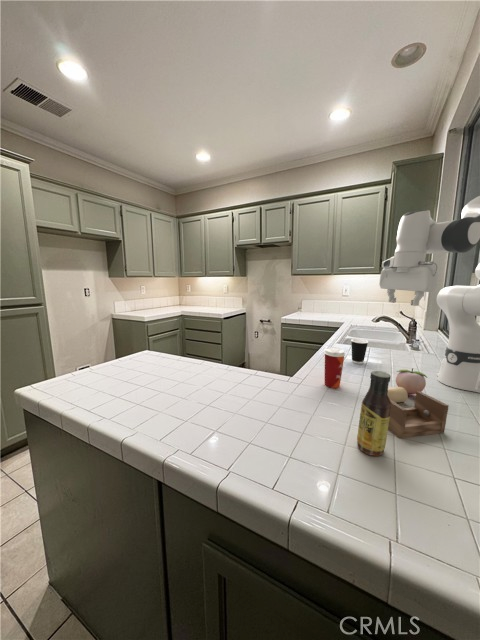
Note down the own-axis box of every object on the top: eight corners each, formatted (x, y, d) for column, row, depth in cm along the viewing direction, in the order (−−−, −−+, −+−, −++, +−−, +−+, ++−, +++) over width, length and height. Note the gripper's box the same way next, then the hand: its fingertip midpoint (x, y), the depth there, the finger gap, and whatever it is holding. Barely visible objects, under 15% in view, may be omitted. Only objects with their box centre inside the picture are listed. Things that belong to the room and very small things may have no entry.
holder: (416, 415, 81) (419, 391, 80) (444, 432, 73) (448, 405, 71) (375, 420, 78) (378, 394, 77) (399, 438, 70) (403, 410, 68)
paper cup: (344, 390, 99) (347, 354, 96) (322, 388, 100) (325, 352, 98) (340, 382, 106) (343, 348, 104) (320, 380, 108) (323, 346, 105)
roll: (395, 397, 94) (397, 384, 93) (406, 404, 89) (409, 391, 88) (372, 399, 92) (374, 386, 91) (382, 407, 87) (385, 393, 86)
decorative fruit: (397, 398, 93) (400, 370, 91) (392, 388, 101) (395, 363, 99) (428, 402, 90) (432, 374, 89) (420, 392, 98) (424, 366, 96)
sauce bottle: (351, 441, 68) (358, 367, 65) (374, 441, 68) (383, 367, 65) (365, 459, 61) (374, 378, 58) (391, 458, 62) (401, 377, 59)
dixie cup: (369, 363, 130) (372, 341, 128) (359, 365, 126) (362, 343, 124) (355, 358, 137) (357, 338, 135) (345, 361, 132) (347, 339, 131)
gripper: (446, 261, 78) (439, 308, 80) (393, 263, 98) (388, 301, 100) (429, 260, 77) (421, 307, 79) (378, 262, 96) (373, 300, 98)
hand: (402, 304), depth 89 cm, fingers open, 8 cm apart
